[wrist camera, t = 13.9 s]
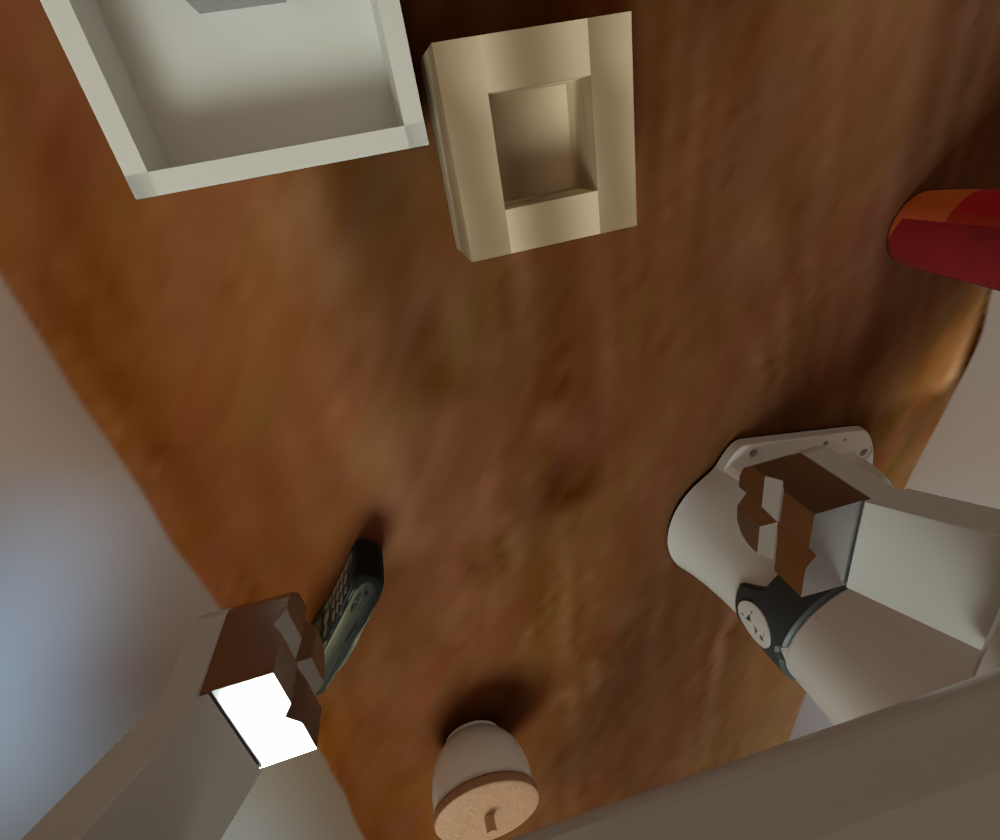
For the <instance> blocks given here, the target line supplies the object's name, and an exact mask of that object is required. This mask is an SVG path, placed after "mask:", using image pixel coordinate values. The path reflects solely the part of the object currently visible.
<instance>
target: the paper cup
mask: <svg viewBox="0 0 1000 840" xmlns="http://www.w3.org/2000/svg"><path fill="white" fill-rule="evenodd" d="M887 250H888V253H889V255H890V257H891V258H892V259H893V260H894V261H896V262H898V263H901V264H904V265H907V266H910V267H914V268H917V269H921V270H924V271H928V272H932V273H935V274H939V275H942V276H946V277H950V278H954V279H957V280H961V281H965V282H968V283H972V284H976V285H980V286H983V287H987V288H991V289H994V290H998V291H1000V189H951V190H930V191H924V192H921V193H919V194H917V195H915V196H914V197H912V198H911V199H910V200H908V201H907V202H906V203H905V204H904V205H903V206H902V208H901V209H900V210H899V211H898V213H897V214H896V216H895V218H894V219H893V221H892V223H891V226H890V228H889V232H888V236H887Z"/></svg>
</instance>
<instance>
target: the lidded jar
mask: <svg viewBox="0 0 1000 840" xmlns="http://www.w3.org/2000/svg"><path fill="white" fill-rule="evenodd" d="M432 798H433V809H434V816H433V817H434V828H435V832H436V834H437V835H438V836H439V837H440V838H441V839H442V840H492V839H495V838H497V837H500V836H502V835H504V834H506V833H508V832H510V831H512V830H513V829H515V828H516V827H518V826H519V825H521V824H522V823H523V822H524V821H526V820H527V819H528V818H529V817H530V815H531V814H532V813H533V812H534V810H535V808H536V807H537V804H538V801H539V793H538V789H537V785H536V783H535V781H534V779H533V776H532V772H531V769H530V766H529V763H528V761H527V759H526V756H525V754H524V752H523V750H522V749H521V747H520V745H519V743H518V742H517V741H516V740H515V738H514V737H513V736H512V735H511V734H510V733H508V732H507V731H505V730H504V729H502V728H500V727H498V726H497V725H496V724H495V723H494V722H491V721H488V720H476V721H471V722H468V723H465V724H463V725H461V726H459V727H458V728H456V729H455V730H454V731H453V732H452V733H451V734H450V735H449V736H448V738H447V740H446V743H445V745H444V746H443V748H442V749H441V751H440V753H439V755H438V757H437V760H436V763H435V767H434V772H433V780H432Z"/></svg>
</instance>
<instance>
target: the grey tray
mask: <svg viewBox="0 0 1000 840" xmlns="http://www.w3.org/2000/svg"><path fill="white" fill-rule="evenodd" d="M40 1H41V3H42V6H43V8H44V10H45V12H46V14H47V16H48V18H49V20H50V22H51V24H52V26H53V28H54V30H55V33H56V35H57V37H58V39H59V41H60V43H61V45H62V47H63V49H64V51H65V53H66V55H67V58H68V60H69V62H70V64H71V66H72V68H73V70H74V72H75V74H76V76H77V78H78V80H79V82H80V85H81V87H82V89H83V91H84V93H85V95H86V97H87V99H88V101H89V103H90V105H91V107H92V109H93V112H94V114H95V116H96V118H97V120H98V122H99V124H100V126H101V128H102V130H103V132H104V134H105V136H106V139H107V141H108V143H109V145H110V147H111V149H112V151H113V153H114V155H115V157H116V159H117V161H118V163H119V166H120V168H121V170H122V172H123V174H124V176H125V178H126V180H127V182H128V184H129V186H130V188H131V190H132V193H133V195H134V197H135V199H136V200H137V199H142V198H148V197H153V196H158V195H164V194H169V193H174V192H180V191H185V190H190V189H196V188H201V187H206V186H212V185H217V184H222V183H228V182H233V181H238V180H244V179H249V178H254V177H260V176H265V175H270V174H276V173H281V172H286V171H292V170H297V169H302V168H308V167H313V166H318V165H324V164H329V163H334V162H339V161H345V160H350V159H355V158H361V157H366V156H371V155H377V154H382V153H387V152H393V151H398V150H403V149H409V148H414V147H419V146H425V145H429V143H428V138H427V133H426V128H425V123H424V118H423V114H422V109H421V104H420V99H419V94H418V89H417V84H416V79H415V74H414V69H413V65H412V60H411V55H410V50H409V45H408V40H407V35H406V30H405V25H404V20H403V16H402V11H401V6H400V1H399V0H286V2H284V3H277V4H269V5H262V6H255V7H247V8H240V9H233V10H225V11H218V12H211V13H203V14H200V13H198V12H197V11H196V10H195V9H194V8H193V7H192V6H191V5H190V4H189V3H188V2H186V1H185V0H40Z"/></svg>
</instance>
